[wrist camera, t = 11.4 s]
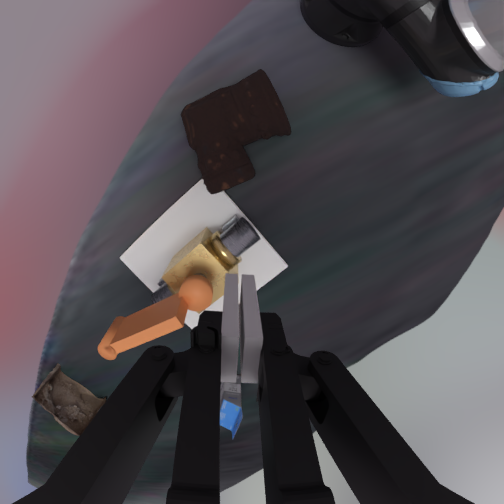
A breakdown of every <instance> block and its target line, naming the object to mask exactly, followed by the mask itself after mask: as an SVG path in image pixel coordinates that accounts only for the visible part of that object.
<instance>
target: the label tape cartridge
mask: <svg viewBox="0 0 504 504" xmlns="http://www.w3.org/2000/svg"><path fill="white" fill-rule="evenodd" d="M242 418H243V414H242V408H241V375H237V377H236V383H231V382H222V383H221V386H220V425H221V426H223V427H225V428H227V429H229V430H231V431H232V439H233V438H234V436H235V434H236V432H237V429H238V427H239V425H240V423H241V420H242ZM237 421H238V423H237ZM236 423H237V426H236ZM235 426H236V427H235Z"/></svg>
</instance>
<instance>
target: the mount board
mask: <svg viewBox="0 0 504 504" xmlns="http://www.w3.org/2000/svg"><path fill="white" fill-rule="evenodd" d="M203 183H204V180H203V179H201V180H200V181H199V182H198V183H197V184H195V185H194V186H193V187H192V188H191V189H190V190H189V191H188V192H187V193H185V194H184V195H183V196H182V197H181V198H180V199H179V200H178V201H177V202H176V203H175V204H173V205H172V206H171V207H170V208H169V209H168V210H167V211H166V212H165V213H164V214H163V215H162V216H161V217H160V218H159V219H158V220H157V221H156V222H154V223H153V224H152V225H151V226H150V227H149V228H148V229H147V230H146V231H145V232H144V233H143V234H142V235H141V236H140V237H139V238H138V239H137V240H136V241H135V242H134V243H133V244H132V245H131V246H130V247H129V248H128V249H127V250H126V251H125V252H124V254H123V255H122V256H121V257H120V259H121V260H122V261H123V262H124V263H125V264H126V265H127V266H128V268H129V269H130V270H131V271H132V272H133V273H134V274H135V275H136V276H137V277H138V278H139V279H140V280H141V281H142V282H143V283H144V284H145V285H146V286H147V287H148V288H149V289H150V290H151V291H152V292H153V293H154V292H155V291H156V290H157V289H158V288H159V287H160V286H159V285H158V282H159V280H160V279H161V277H162V275H163V274H164V272H165V270H166V268H167V266H168V265H169V263H170V261H171V259H172V257H173V256H174V255H175V254H176V253H177V252H179V251H180V250H181V249H182V248H183V247H184V246H185V245H186V244H188V243H189V242H190V241H191V240H192V239H193V238H194V237H196V236H197V235H198V234H199V233H200V232H201V231H202V230H204V229H205V228H206V227H207V228H208V229H209V230H210V231H211V232H212V233H213V234H214V233H215V232H216V231H219V232H221V233H223V232H224V231H223V230H222V229H221V227H222V225H223V224H224V223H226V222H227V221H228V220H229V219H230V218H232V217H233V216H234V215H235V214H236V215H237V217H238V218H239V219H240V218H241V217H244V218H245V219H246V220H247V221H248V222H249V223H250V224H251V226H252V227H253V228H254V229H255V231H256V232H257V233H258V235H259V237H260V240H259V241H258V242H256V243H255V244H254V245H253V246H251V247H250V248H249V249H248V250H246V251H245V252H244V253H243V254H242V255H240V256H241V258H242V261H241V262H240V263H239V264H238V278H239V283H238V304H240V294H241V279H242V274H248V275H254V277H255V284H256V291H257V290H258V289H259V288H261V287H262V286H263V285H265V284H266V283H267V282H269V281H270V280H271V279H273V278H274V277H275V276H276V275H278V274H279V273H280V272H282V271H283V270H284V269H285V268H287V267H288V265H287V263H286V262H285V261H284V260H283V259H282V257H281V256H280V255H279V254H278V253H277V252H276V250H275V249H274V248H273V247H272V246H271V244H270V243H269V242H268V241H267V240H266V239H265V237H264V236H263V235H262V234H261V233H260V232H259V231H258V229H257V228H256V227H255V226H254V225H253V224H252V222H251V221H250V220H249V219H248V218H247V217H246V215H245V214H244V213H243V212H242V211H241V210H240V209H239V207H238V206H237V205H236V204H235V203H234V202H233V201H232V199H231V198H230V197H229V196H228V195H227V194H226V193H225V191H222V192H219V193H217V194H210V193H209V192H208V191H207V188H206V185H205V184H203ZM223 300H224V295H223V296H222V297H220V298H219V299H218V300H217V301H215V302H214V303H213V304H211V305H210V306H209V307H208V308H206V309H205V310H207V311H223ZM202 312H203V311H202ZM202 312H201V313H202ZM201 313H200V314H201ZM200 314H198V313H197V312H196V311H191V310H187V314H186V318H185V323H186V324H187V325H188V326H189V327H190V328H191V329H193V328H194V327H196V326H198V320H199V315H200Z"/></svg>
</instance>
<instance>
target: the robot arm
mask: <svg viewBox="0 0 504 504" xmlns="http://www.w3.org/2000/svg"><path fill="white" fill-rule="evenodd" d="M301 12H302V15H303V17H304V19H305V21H306V22H307V24H308V25H309V26H310V28H311V29H312V30H313V31H314V32H316V33H317V34H318V35H319V36H321V37H322V38H324V39H326V40H328V41H330V42H332V43H334V44H337V45H341V46H347V47H357V46H362V45H365V44H367V43H369V42H370V41H372V40H373V39H374V38H376V37H377V36H378V34H379V33H380V31H381V29H382V26H384V27H385V28H386V29H387V31H388V32H389V33H390V34H391V35H392V36H393V38H394V39H395V40H396V41H397V42H398V43H399V45H400V46H401V47H402V48H403V49H404V51H405V52H406V53H407V54H408V55H409V57H410V58H411V59H412V60H413V62H414V63H415V64H416V66H417V67H418V68H419V71H420V73H421V74H422V75H423V76H424V77H425V78H427V80H428V81H429V82H430V84H431V85H432V86H433V88H434V89H435V90H436V91H438V92H439V93H440V94H443V95H445V96H449V97H464V96H470V95H474V94H477V93H479V91H480V90H486V89H488V88H490V87H491V86H493V85H494V84H495V83H496V82H497V80H498V77H499V74H498V72H500V71H502V70H503V69H504V0H301ZM402 18H403V19H402ZM399 20H400V21H399ZM396 22H397V23H396ZM239 323H240V358H241V383H258V380H259V385H258V393H257V400H256V401H259V415H260V428H261V442H262V455H263V468H264V482H265V494H266V504H335V501H334V496H333V493H332V491H331V489H330V488H329V487H327V486H325V485H324V482H323V479H322V474H321V470H320V465H319V461H318V456H317V452H316V447H315V443H314V439H313V434H312V430H311V426H310V421H309V418H310V420H311V422H312V424H313V425H314V427H315V429H316V431H317V432H318V434H319V436H320V437H321V439H322V441H323V443H324V444H325V446H326V448H327V450H328V451H329V453H330V455H331V456H332V458H333V459H334V461H335V463H336V465H337V466H338V468H339V470H340V471H341V473H342V475H343V476H344V478H345V480H346V481H347V483H348V485H349V486H350V488H351V490H352V491H353V493H354V494H355V496H356V498H357V499H358V501H359V502H360V504H474V503H472V502H471V501H469V500H467V499H465V498H463V497H462V496H460V495H458V494H456V493H454V492H453V491H451V490H449V489H448V488H446V487H444V486H443V485H441V484H439V482H438V481H437V480H436V479H435V477H434V476H433V475H432V474H431V473H430V471H429V470H428V469H427V468H426V466H425V465H424V464H423V463H422V461H421V460H420V459H419V458H418V456H417V455H416V454H415V453H414V451H413V450H412V449H411V448H410V446H409V445H408V444H407V443H406V442H405V440H404V439H403V438H402V437H401V435H400V434H399V433H398V432H397V430H396V429H395V428H394V427H393V426H392V424H391V423H390V422H389V420H388V419H387V418H386V417H385V416H384V414H383V413H382V412H381V411H380V409H379V408H378V407H377V406H376V404H375V403H374V402H373V401H372V399H371V398H370V397H369V396H368V395H367V393H366V392H365V391H364V390H363V388H362V387H361V386H360V385H359V383H358V382H357V381H356V380H355V378H354V377H353V376H352V375H351V373H350V372H349V371H348V370H347V368H346V367H345V366H344V365H343V363H342V362H341V361H340V360H339V359H338V357H337V356H335V355H334V354H333V353H330V352H327V351H317V352H314V353H313V354H312V355H311V356H310V358H309V357H304V356H300V355H297V354H295V353H293V350H292V349H291V347H290V346H288V345H287V342H286V338H285V334H284V330H283V326H282V322H281V318H280V317H279V316H278V315H277V314H276V313H261V312H259V305H258V298H257V291H256V284H255V277H254V275H248V274H242V279H241V294H240V308H239V305H238V274H229V273H226V274H225V287H224V300H223V311H207V310H204V311H203V312H202V313H201V314H200V315H199V320H198V326H196V327H194V328H193V329H192V330H191V332H190V333H191V348H190V349H188V350H186V351H184V352H179V353H173V351H172V350H171V349H170V348H168V347H166V346H160V345H158V346H152V347H150V348H148V349H147V350H146V351H145V352H144V353H143V354H142V356H141V357H140V358H139V359H138V361H137V362H136V363H135V364H134V366H133V367H132V368H131V370H130V371H129V372H128V373H127V375H126V376H125V377H124V379H123V380H122V381H121V383H120V384H119V385H118V386H117V388H116V389H115V390H114V392H113V393H112V394H111V396H110V397H109V398H108V399H107V401H106V402H105V403H104V405H103V406H102V407H101V409H100V410H99V411H98V413H97V414H96V415H95V417H94V418H93V419H92V421H91V422H90V423H89V425H88V426H87V427H86V429H85V430H84V431H83V433H82V434H81V435H80V437H79V438H78V439H77V441H76V442H75V443H74V445H73V446H72V447H71V449H70V450H69V452H68V453H67V454H66V456H65V457H64V458H63V460H62V461H61V462H60V464H59V465H58V467H57V468H56V469H55V471H54V472H53V473H52V475H51V476H50V478H49V479H48V480H47V482H46V483H45V484H44V485H43V486H41V487H40V488H38V489H36V490H35V491H33V492H31V493H30V494H28V495H26V496H25V497H23V498H21V499H19V500H18V501H16V502H14V503H13V504H122V503H123V502H124V500H125V498H126V496H127V494H128V492H129V490H130V488H131V487H132V485H133V483H134V481H135V479H136V477H137V475H138V473H139V472H140V470H141V468H142V466H143V464H144V462H145V460H146V458H147V456H148V455H149V453H150V451H151V449H152V447H153V445H154V443H155V441H156V439H157V438H158V436H159V434H160V432H161V430H162V428H163V426H164V424H165V422H166V421H167V419H168V417H169V415H170V413H171V411H172V409H173V407H174V405H175V404H176V402H177V400H178V396H183V400H182V407H181V414H180V421H179V428H178V436H177V443H176V451H175V459H174V468H173V476H172V484H171V487H170V488H169V489H168V492H167V498H166V504H220V384H221V382H231V383H236V377H237V362H238V348H239Z"/></svg>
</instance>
